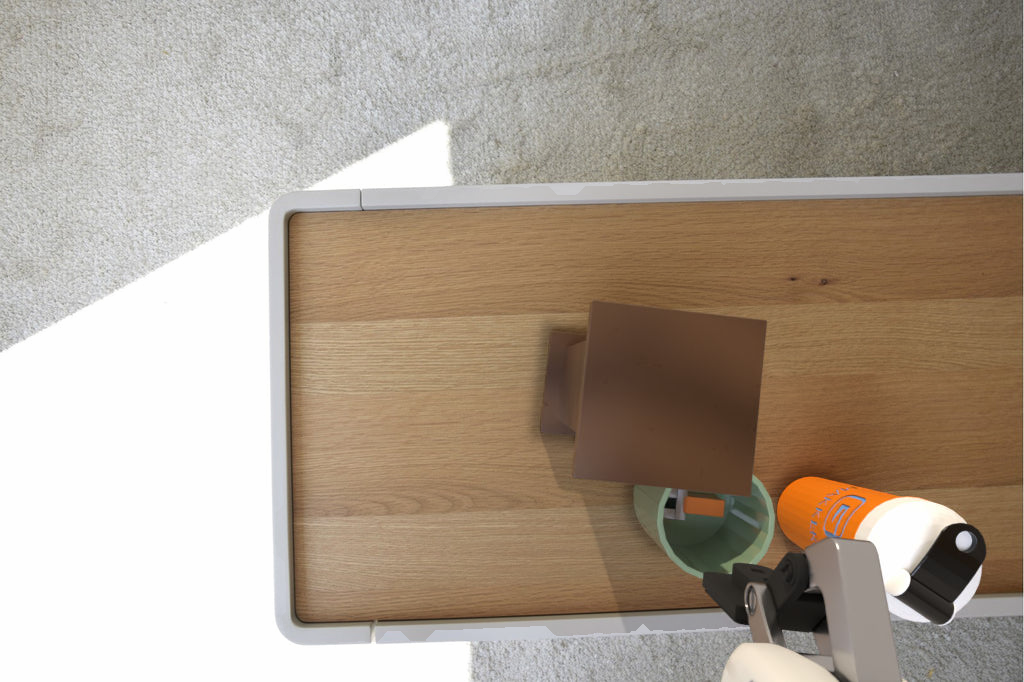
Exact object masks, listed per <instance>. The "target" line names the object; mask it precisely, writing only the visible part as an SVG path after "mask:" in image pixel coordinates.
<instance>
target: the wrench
mask: <svg viewBox="0 0 1024 682" xmlns="http://www.w3.org/2000/svg"><path fill="white" fill-rule="evenodd" d="M724 506H725V500H723V499H721V498H719V497H718V496H716V495H714V494H704V493H695V492H688V490H680V489H672V490H671V492H670V494H669V497H668V503H666V504H665V506H664V515H663V518H664V519H673V520H674V519H675V520H683V521H685V516H686V513H688V514H697V515H707V516H716V517H723V516H724Z"/></svg>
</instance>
